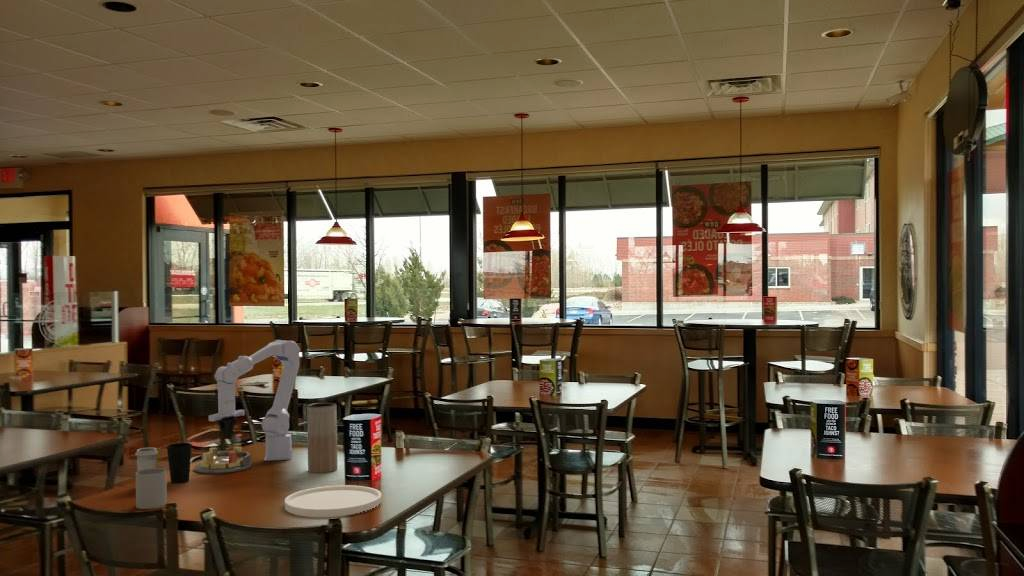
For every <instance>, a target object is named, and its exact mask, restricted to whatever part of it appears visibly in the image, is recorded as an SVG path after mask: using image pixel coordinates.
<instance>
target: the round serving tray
mask: <svg viewBox="0 0 1024 576" xmlns="http://www.w3.org/2000/svg"><path fill="white" fill-rule="evenodd" d="M232 451H233V450H222V451H217V455H218V456H219V457H220V456H229V452H232ZM251 456H252V455H251V454H250V452H248V451H243V450H242V457H243V465H241V466H238V467H233V468H226V469H206V468H201V467H200V463H198V464H196V465H195V466H194V472H196V473H198V474H205V475H220V474H231V473H237V472H241V471H245V470H248V469H250V468H251V467H252V461H251V460H252V457H251ZM202 460H203V453H202V454H201V461H202ZM226 462H229V457H223V458H216V459H213V463H226Z"/></svg>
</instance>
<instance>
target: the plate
mask: <svg viewBox="0 0 1024 576" xmlns="http://www.w3.org/2000/svg"><path fill="white" fill-rule="evenodd" d="M381 501H382V502H383V494H382V492H381V491H380V490H378V489H376V488H373V487H369V486H364V485H363V486H362V485H350V484H347V485H345V484H344V485H343V484H342V485H341V484H340V485H326V486H318V487H312V488H308V489H307V488H306V489H302V490H299V491H295V492H293V493H291V494H289V495H287V496H286V497H285V498H284V510H285V511H287V512H288V513H289V514H293V515H296V516H301V517H307V518H308V517H311V518H333V517H343V516H351V515H356V513H357V514H361V513H364V512H363V511H365V512H368V511H367V510H369V511H371V510H373V509H372V508H374V509H376V508H377V507H379V506H380V505H381V504H382V502H381ZM380 503H381V504H380ZM379 504H380V505H379ZM378 505H379V506H378ZM376 506H377V507H376ZM375 507H376V508H375ZM370 509H371V510H370ZM360 512H361V513H360Z"/></svg>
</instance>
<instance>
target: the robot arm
mask: <svg viewBox="0 0 1024 576" xmlns="http://www.w3.org/2000/svg"><path fill="white" fill-rule="evenodd" d="M300 351H301V348H300V347H299V345H298V344H297V342H296V341H294V340H284V339H283V340H282V339H275V340H274V341H272V342H269V343H268V344H267V345H266V346H264V347H262V348H261V349H258V351H256V352H255V353H253V354H251V355H249V356H247V355H239V356H238V357H237V359H236V360H234V361H232V362H227V364H226V366H224V365H223V366H219V367H218V368H217V370H216V372H215V374H213V376H214V380H215V381H216V382H217V403H218V404H217V405H218V407H217V409H218V410H217V411H218V412H217V413H214V414H209V415H208V422H216V423H217V424H218V426H219V428H220V429H221V432H222V433H221V434H222V435H223V439H224V440H230V439H232V435H233V431H234V427H235V426H236V423H237V422H238V418H237V417H241V416H242V417H243V416H245V413H246V411H245V409H237V410H236V381H238V379H239V377H241V376H243V375H245V374H246V373H248V372H249V371H252V370H253V369H254V365H255V364H258V363H260V362H261V361H264V360H266V359H268V358H270V357H273V356H274V357H275V358H276V359H277V360H279V361H280V363H281V365H282V366H283V369H282V372H281V374H280V379H279V383H278V386H277V390H276V393H275V397H274V400H273V403H272V407H270V409H268V410H267V411H266V415H265V416H264V417H263V419H262V421H261V428H262V430H263V431H264V435H265V456H264V458H263V461H280V460H281V461H287V460H291V458H292V456H293V448H292V446H293V445H292V443H293V442H292V439H293V438H292V434H291V433H289V434H288V433H287V432H288V431H289V429H290V417H291V416H290V413H289V412H288V408H289V405H290V402H291V401H290V400H291V396H292V395H293V390H294V386H295V382H296V380H297V377H298V376H297V375H298V371H299V369H300V357H299V354H300Z"/></svg>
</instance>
